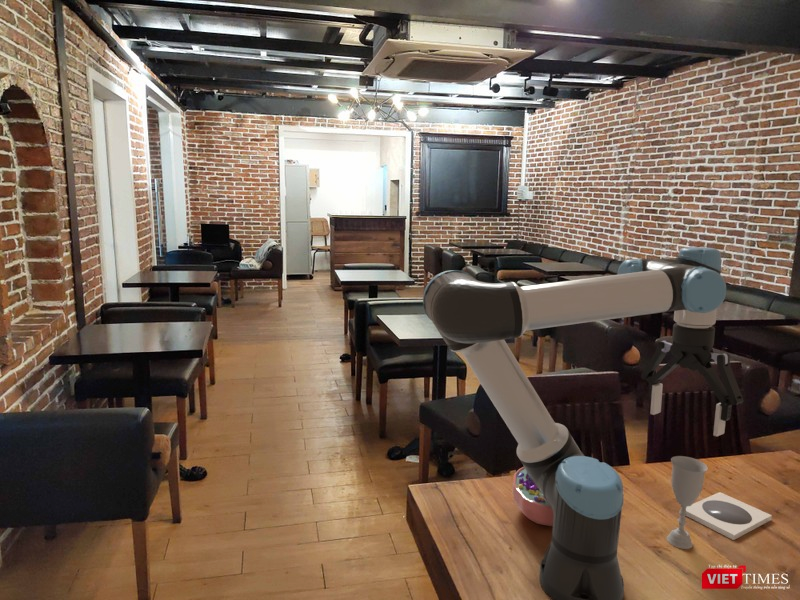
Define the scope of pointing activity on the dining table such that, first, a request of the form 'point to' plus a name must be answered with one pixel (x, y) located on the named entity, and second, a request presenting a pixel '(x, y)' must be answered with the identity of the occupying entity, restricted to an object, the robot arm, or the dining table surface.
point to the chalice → (685, 494)
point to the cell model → (531, 499)
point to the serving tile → (727, 515)
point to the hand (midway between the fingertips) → (685, 423)
